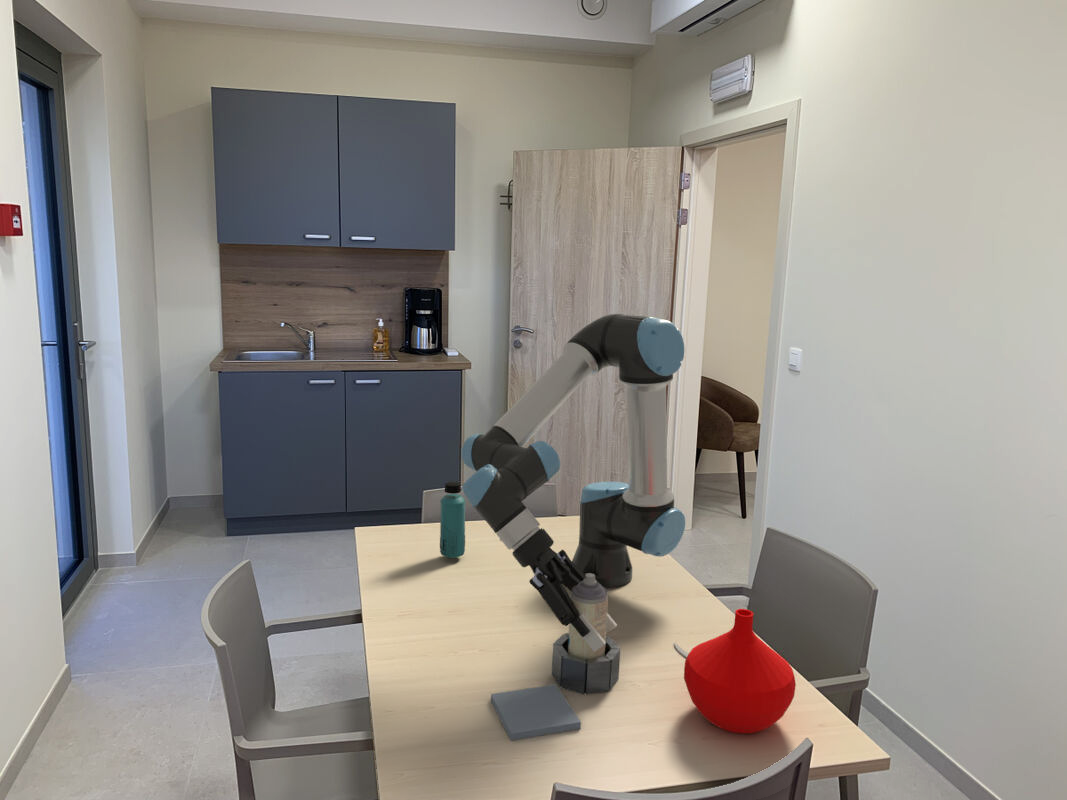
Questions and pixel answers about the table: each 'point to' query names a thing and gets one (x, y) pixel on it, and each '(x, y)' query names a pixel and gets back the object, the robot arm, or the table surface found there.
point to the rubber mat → (535, 712)
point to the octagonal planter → (585, 668)
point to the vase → (739, 679)
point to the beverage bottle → (452, 522)
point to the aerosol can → (588, 616)
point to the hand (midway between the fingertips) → (605, 638)
